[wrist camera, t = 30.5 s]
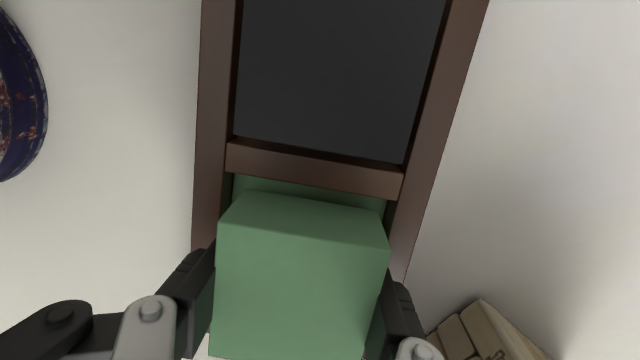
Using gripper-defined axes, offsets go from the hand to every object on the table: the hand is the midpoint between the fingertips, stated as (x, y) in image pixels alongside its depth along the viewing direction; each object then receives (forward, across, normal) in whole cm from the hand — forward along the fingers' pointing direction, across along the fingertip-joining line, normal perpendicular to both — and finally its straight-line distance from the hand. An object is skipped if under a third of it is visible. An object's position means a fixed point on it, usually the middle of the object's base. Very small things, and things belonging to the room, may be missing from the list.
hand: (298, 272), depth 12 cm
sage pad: (+1, 0, 0) cm, 1 cm away
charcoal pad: (+2, 0, -8) cm, 8 cm away
